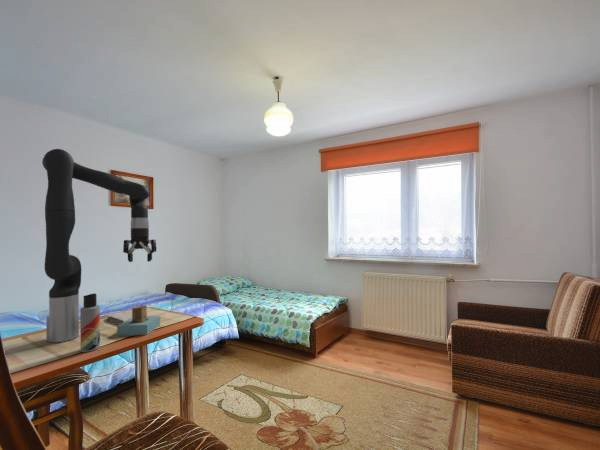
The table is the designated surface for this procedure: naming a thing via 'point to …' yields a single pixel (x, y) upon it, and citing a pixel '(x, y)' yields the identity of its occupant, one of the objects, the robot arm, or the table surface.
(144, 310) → the peg
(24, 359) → the table surface
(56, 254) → the robot arm
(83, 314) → the lotion bottle
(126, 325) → the socket block
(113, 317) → the washcloth
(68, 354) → the table surface
